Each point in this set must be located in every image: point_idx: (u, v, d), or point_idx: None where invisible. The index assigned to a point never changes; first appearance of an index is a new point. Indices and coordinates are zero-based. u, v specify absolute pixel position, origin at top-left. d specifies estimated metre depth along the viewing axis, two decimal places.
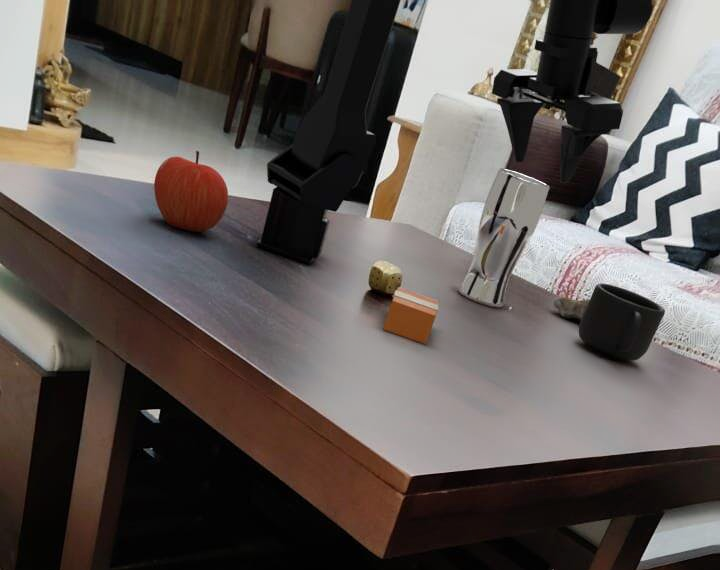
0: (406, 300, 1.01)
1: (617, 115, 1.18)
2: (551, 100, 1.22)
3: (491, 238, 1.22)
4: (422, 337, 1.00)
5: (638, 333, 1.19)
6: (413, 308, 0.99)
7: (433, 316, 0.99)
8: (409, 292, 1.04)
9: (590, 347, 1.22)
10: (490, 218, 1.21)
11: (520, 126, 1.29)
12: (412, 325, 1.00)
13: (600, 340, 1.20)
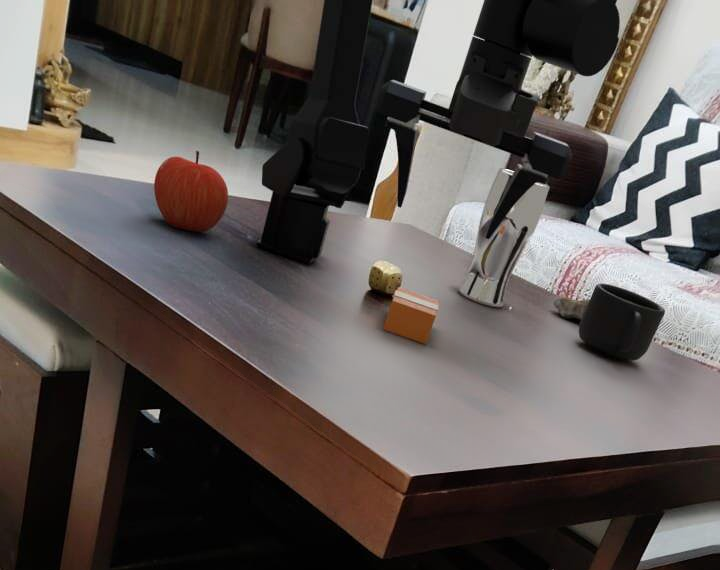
0: (406, 300, 1.01)
1: None
2: None
3: (491, 238, 1.22)
4: (422, 337, 1.00)
5: (638, 333, 1.19)
6: (413, 308, 0.99)
7: (433, 316, 0.99)
8: (409, 292, 1.04)
9: (590, 347, 1.22)
10: (490, 218, 1.21)
11: (504, 192, 0.97)
12: (412, 325, 1.00)
13: (600, 340, 1.20)
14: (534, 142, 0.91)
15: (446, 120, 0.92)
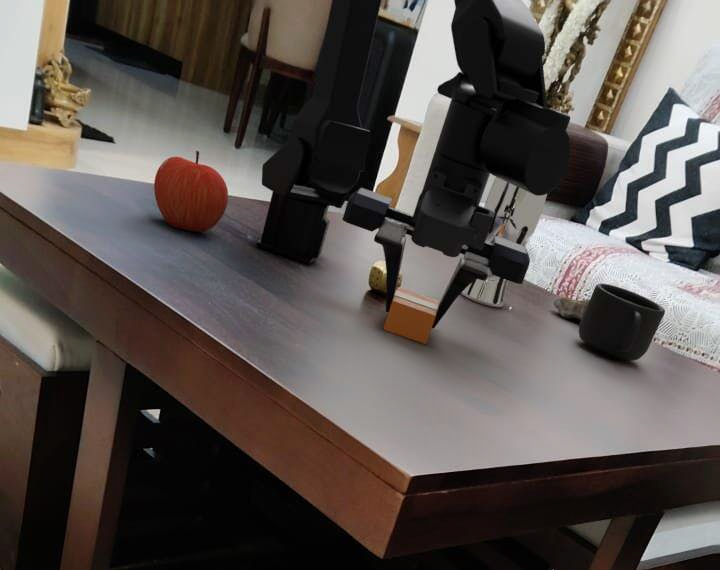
0: (406, 300, 1.01)
1: None
2: None
3: (491, 238, 1.22)
4: (422, 337, 1.00)
5: (638, 333, 1.19)
6: (413, 308, 0.99)
7: (433, 316, 0.99)
8: (409, 292, 1.04)
9: (590, 347, 1.22)
10: None
11: (448, 285, 1.02)
12: (412, 325, 1.00)
13: (600, 340, 1.20)
14: (493, 250, 0.96)
15: None
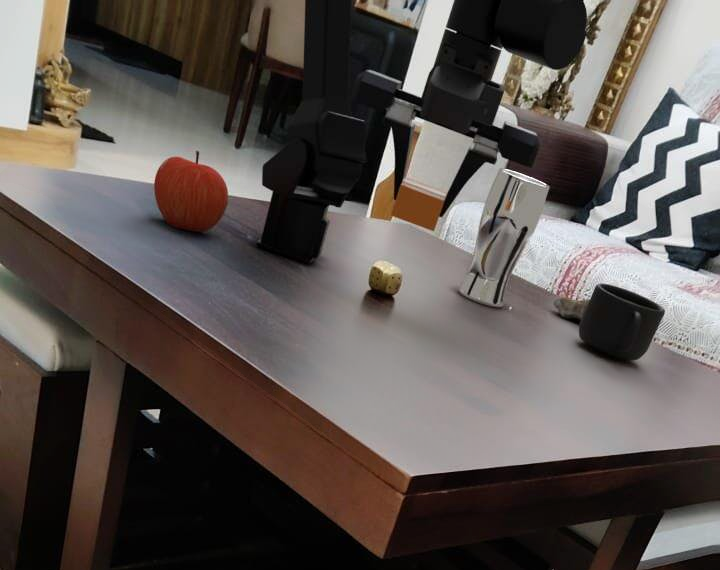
0: (414, 186, 0.99)
1: None
2: None
3: (491, 238, 1.22)
4: (430, 224, 0.99)
5: (638, 333, 1.19)
6: (421, 193, 0.98)
7: (441, 201, 0.98)
8: (417, 182, 1.03)
9: (590, 347, 1.22)
10: (490, 218, 1.21)
11: (457, 172, 1.00)
12: (420, 211, 0.99)
13: (600, 340, 1.20)
14: (503, 131, 0.95)
15: None
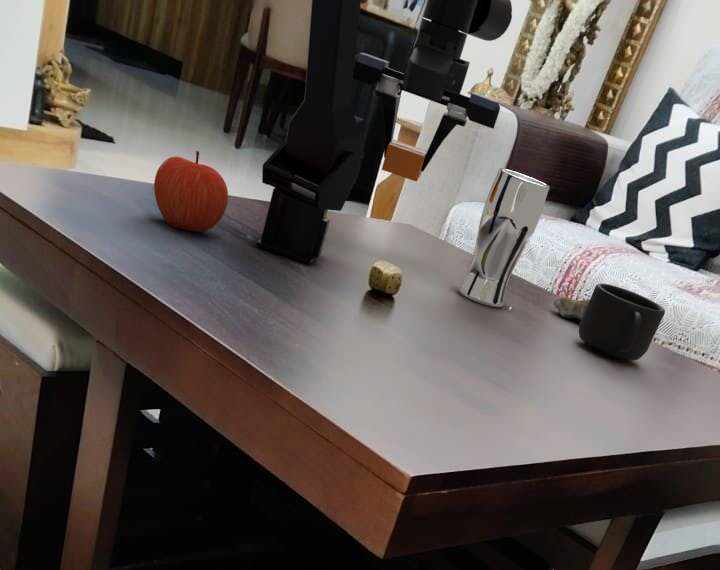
0: (400, 146, 1.23)
1: None
2: None
3: (491, 238, 1.22)
4: (413, 175, 1.23)
5: (638, 333, 1.19)
6: (405, 150, 1.22)
7: (422, 156, 1.22)
8: (403, 143, 1.27)
9: (590, 347, 1.22)
10: (490, 218, 1.21)
11: None
12: (405, 165, 1.23)
13: (600, 340, 1.20)
14: (470, 99, 1.19)
15: None
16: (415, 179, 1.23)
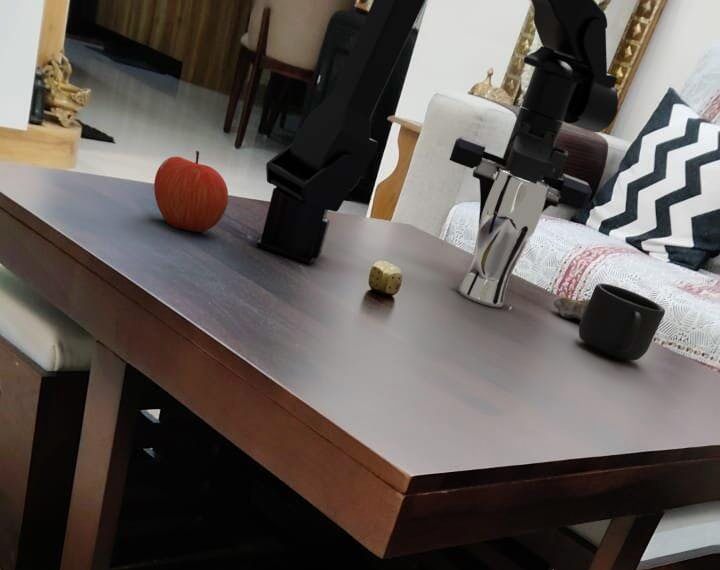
0: None
1: None
2: None
3: (491, 238, 1.22)
4: None
5: (638, 333, 1.19)
6: None
7: None
8: None
9: (590, 347, 1.22)
10: (490, 218, 1.21)
11: None
12: None
13: (600, 340, 1.20)
14: (564, 182, 1.27)
15: None
16: None
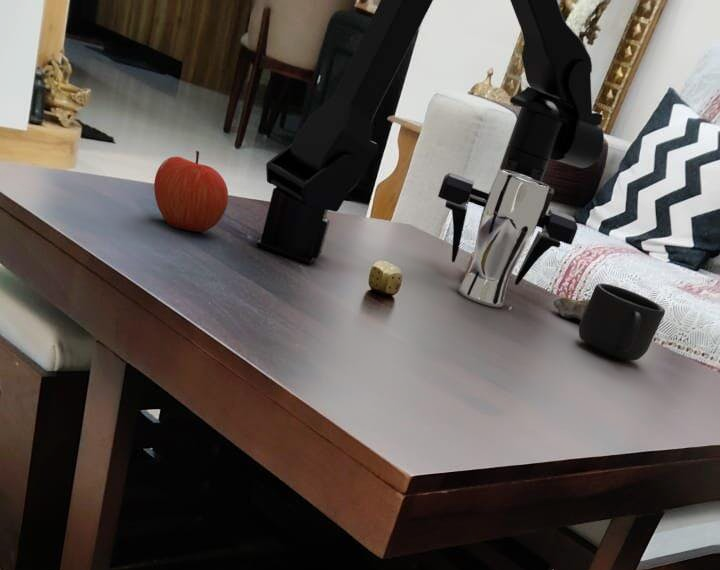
0: None
1: None
2: None
3: (491, 238, 1.22)
4: None
5: (638, 333, 1.19)
6: None
7: None
8: None
9: (590, 347, 1.22)
10: (490, 218, 1.21)
11: (529, 252, 1.35)
12: None
13: (600, 340, 1.20)
14: (551, 218, 1.29)
15: None
16: None
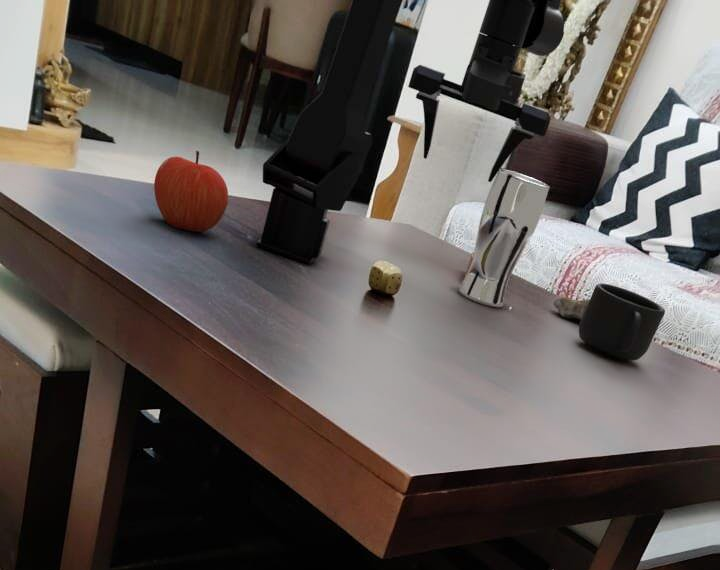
0: None
1: None
2: None
3: (491, 238, 1.22)
4: None
5: (638, 333, 1.19)
6: None
7: None
8: None
9: (590, 347, 1.22)
10: (490, 218, 1.21)
11: (502, 147, 1.32)
12: None
13: (600, 340, 1.20)
14: (523, 109, 1.26)
15: (459, 93, 1.27)
16: None
